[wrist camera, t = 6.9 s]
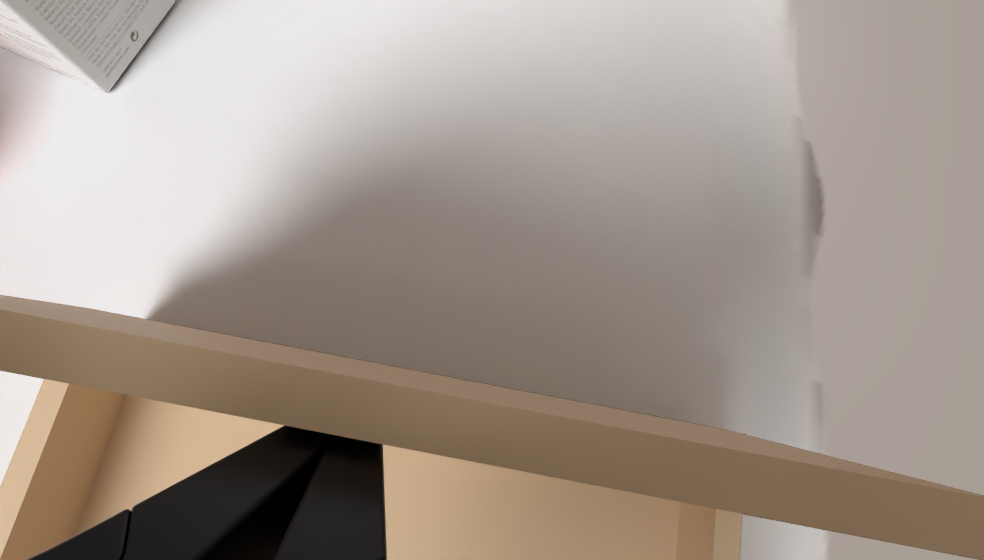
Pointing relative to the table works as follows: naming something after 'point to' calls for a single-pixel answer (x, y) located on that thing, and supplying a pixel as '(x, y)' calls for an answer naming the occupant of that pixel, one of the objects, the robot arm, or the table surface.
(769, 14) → the table surface
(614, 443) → the carton flap
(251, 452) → the robot arm
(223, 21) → the table surface
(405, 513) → the carton
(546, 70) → the table surface
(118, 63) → the small box
